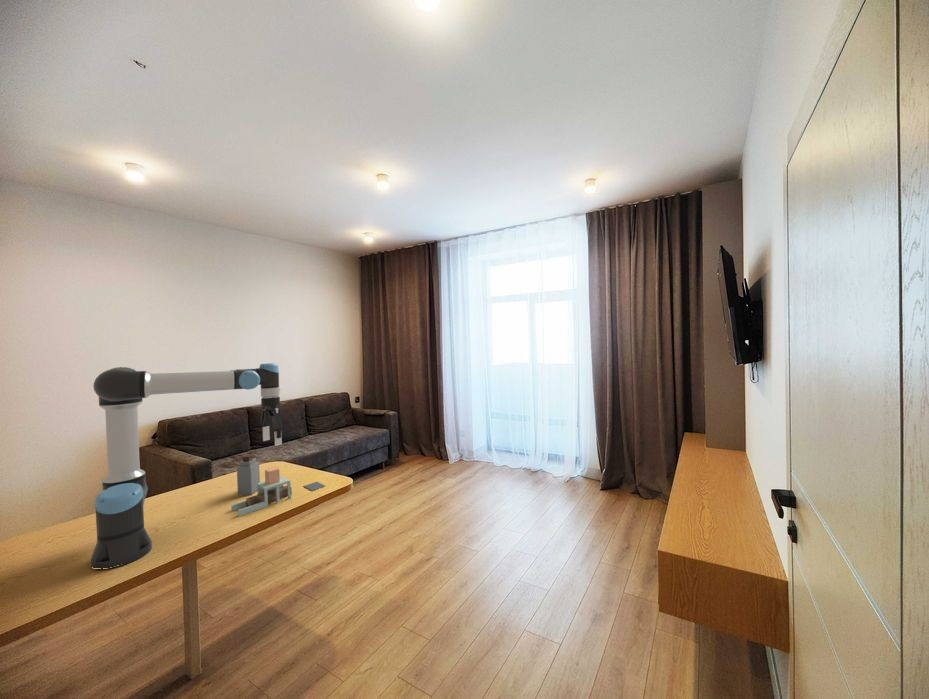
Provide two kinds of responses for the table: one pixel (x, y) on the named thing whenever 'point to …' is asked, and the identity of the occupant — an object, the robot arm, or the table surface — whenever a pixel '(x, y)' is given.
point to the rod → (271, 496)
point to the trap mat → (314, 486)
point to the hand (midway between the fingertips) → (272, 442)
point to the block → (272, 476)
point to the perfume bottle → (248, 475)
